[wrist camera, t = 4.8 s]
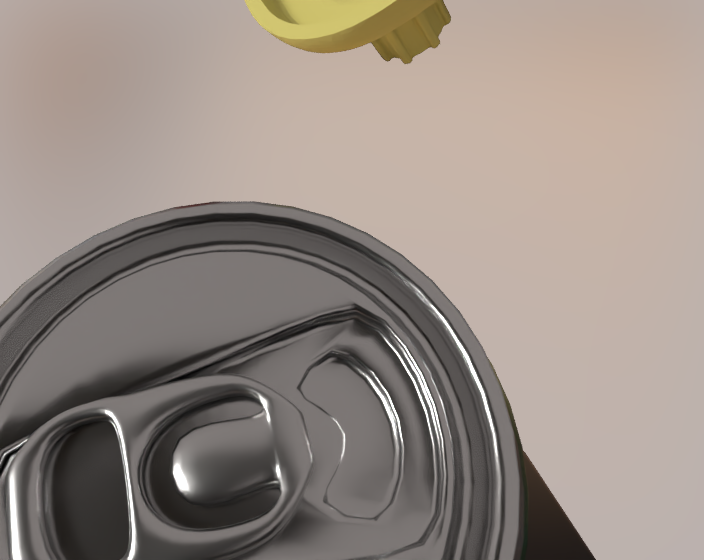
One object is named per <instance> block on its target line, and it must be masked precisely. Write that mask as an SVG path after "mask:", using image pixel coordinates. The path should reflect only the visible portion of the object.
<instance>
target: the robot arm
mask: <svg viewBox="0 0 704 560" xmlns="http://www.w3.org/2000/svg"><path fill="white" fill-rule="evenodd" d="M523 456H524V463H525V471H526V478H527V486H528V493H529V500H528V545H527V551H526V557H525V560H596V559H595V558H594V556H593V555H592V553H591V552H590V550H589V549H588V547H587V546H586V544H585V543H584V541H583V540H582V538H581V537H580V535H579V533H578V532H577V530H576V529H575V528H574V526H573V524H572V523H571V521H570V520H569V518H568V517H567V515H566V514H565V512H564V511H563V509H562V508H561V506H560V505H559V503H558V502H557V500H556V499H555V497H554V496H553V494H552V493H551V491H550V490H549V488H548V487H547V485H546V484H545V482H544V481H543V479H542V477H541V476H540V474H539V473H538V471H537V470H536V468H535V467H534V465H533V464H532V462H531V461H530V459H529V458H528V456H527V455H526V453H525V452H524V451H523Z"/></svg>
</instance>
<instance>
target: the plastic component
mask: <svg viewBox="0 0 704 560" xmlns="http://www.w3.org/2000/svg"><path fill="white" fill-rule="evenodd" d="M245 2H246V4H247V6H248V8H249V10H250V12H251V14H252V16H253V17H254V18H255V19H256V21H257V22H258V23H259V24H260V25H261V26H262V27H263V28H264V29H265V30H267V31H268V32H269V33H271V34H272V35H273V36H275V37H276V38H278V39H279V40H281V41H283V42H284V43H287V44H289V45H291V46H293V47H296V48H299V49H302V50H306V51H310V52H316V53H333V52H341V51H346V50H350V49H354V48H357V47H360V46H363V45H365V44H367V43H370V42H371V43H372V44H373V46H374V47H375V48H376V50H377V51H378V53H379V54H380V55H381V57H382V58H383V59H384V60H385V61H390V60H391V59H392V58H394V57H395V58H400V59H401V60H402V61H403V63H404V64H408V63H410V62H411V61H412V58H413V57H414V56H416V55H417V54H420V53H422V52H423V51H424V50H426V49H427V48H429V47H432V48H436V47H437V46H438V45H439V44H440V40H439V39H438V36H439V34H440V33H441V31H442V28H443V26H444V25H446V24H449V23H450V21H451V16H450V14H449V12H448V10H447V8H446V6H445V4H444V2H443V0H245Z"/></svg>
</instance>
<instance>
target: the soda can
mask: <svg viewBox="0 0 704 560" xmlns="http://www.w3.org/2000/svg"><path fill="white" fill-rule="evenodd" d="M528 500H529V493H528V486H527V478H526V471H525V463H524V456H523V449H522V444H521V441H520V438H519V434H518V430H517V427H516V423H515V420H514V416H513V413H512V409H511V406H510V403H509V401H508V399H507V397H506V394H505V392H504V390H503V388H502V385H501V383H500V381H499V379H498V377H497V374H496V372H495V370H494V368H493V366H492V364H491V362H490V361H489V359H488V357H487V356H486V354H485V351H484V349H483V347H482V346H481V344H480V343H479V341H478V339H477V338H476V336H475V335H474V333H473V332H472V330H471V329H470V327H469V326H468V324H467V322H466V321H465V319H464V318H463V316H462V315H461V313H460V311H459V310H458V309H457V308H456V307H455V306H454V305H453V304H452V302H451V301H450V300H449V299H448V298H447V297H446V296H445V294H443V292H442V291H441V290H440V289H439V288H438V286H437V285H436V284H435V283H434V282H433V281H432V280H431V279H430V278H429V277H427V276H426V275H425V274H424V273H423V272H422V271H420V270H419V269H418V268H417V267H416V266H415V265H413V264H412V263H411V262H410V261H409V260H407V259H406V258H405V257H404V256H403V255H402V254H400V253H398V252H397V251H395V250H394V249H392V248H390V247H389V246H387V245H386V244H384V243H382V242H380V241H379V240H377V239H376V238H374V237H373V236H371V235H370V234H368V233H366V232H364V231H361V230H359V229H356V228H354V227H352V226H350V225H348V224H345V223H343V222H341V221H339V220H336V219H334V218H331V217H328V216H325V215H321V214H317V213H314V212H310V211H307V210H303V209H299V208H296V207H291V206H283V205H276V204H269V203H261V202H209V203H202V204H195V205H188V206H181V207H174V208H170V209H167V210H163V211H159V212H156V213H152V214H149V215H145V216H141V217H138V218H134V219H132V220H129V221H127V222H125V223H122V224H120V225H118V226H115V227H113V228H110V229H108V230H106V231H103V232H101V233H99V234H97V235H94V236H93V237H91V238H89V239H87V240H86V241H84V242H82V243H81V244H79V245H78V246H75V247H74V248H72V249H70V250H69V251H67V252H65V253H64V254H62V255H60V256H59V257H57V258H55V259H54V260H53V261H52V262H50V263H49V264H48V265H46V266H45V267H44V268H43V269H41V270H40V271H39V272H38V273H36V274H35V275H34V276H33V277H31V278H30V279H28V280H27V281H26V282H24V283H23V284H22V285H21V286H20V287H19V288H18V289H17V290H16V291H15V292H14V293H13V294H12V295H11V296H10V297H9V298H8V299H7V300H6V301H5V302H4V303H3V304H2V305H1V306H0V560H525V557H526V551H527V545H528Z"/></svg>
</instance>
